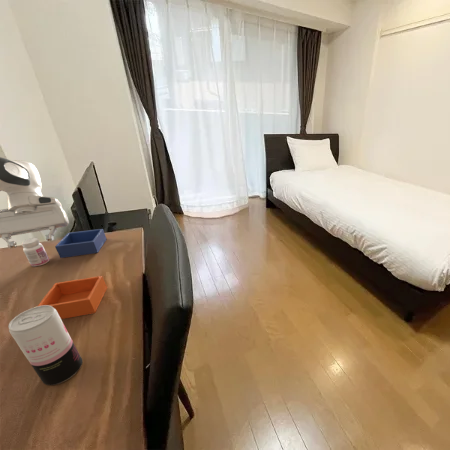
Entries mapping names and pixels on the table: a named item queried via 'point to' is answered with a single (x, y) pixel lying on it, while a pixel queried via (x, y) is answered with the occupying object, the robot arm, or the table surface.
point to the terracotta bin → (76, 296)
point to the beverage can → (46, 344)
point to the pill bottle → (35, 252)
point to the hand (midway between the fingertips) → (31, 243)
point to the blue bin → (81, 243)
